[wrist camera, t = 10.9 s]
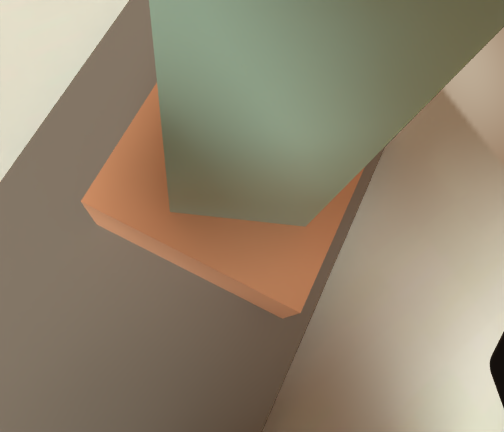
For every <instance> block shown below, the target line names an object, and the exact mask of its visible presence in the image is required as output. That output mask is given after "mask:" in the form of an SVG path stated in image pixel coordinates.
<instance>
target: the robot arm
mask: <svg viewBox="0 0 504 432" xmlns="http://www.w3.org/2000/svg"><path fill="white" fill-rule="evenodd" d="M490 370H491V374H492V377H493V380H494V382H495V385H496V388H497V391H498V394H499V396H500V399H501V402H502V405H503V408H504V332H503V334H502V336H501V338H500V340H499V342H498V344H497V346H496V348H495V350H494V352H493V354H492V356H491V359H490Z"/></svg>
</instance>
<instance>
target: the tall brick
mask: <svg viewBox="0 0 504 432" xmlns="http://www.w3.org/2000/svg"><path fill="white" fill-rule="evenodd" d="M149 7H150V17H151V27H152V37H153V47H154V57H155V67H156V77H157V87H158V97H159V107H160V117H161V127H162V137H163V147H164V158H165V168H166V178H167V188H168V198H169V208H170V212H176V213H185V214H194V215H203V216H213V217H222V218H231V219H240V220H249V221H259V222H268V223H277V224H286V225H295V226H305V227H306V226H307V225H308V224H309V223H310V222H311V221H312V220H313V219H314V218H315V217H316V216H317V215H318V214H319V213H320V212H321V210H322V209H323V208H324V207H325V206H326V205H327V204H328V203H329V202H330V201H331V200H332V199H333V198H334V197H335V196H336V195H337V194H338V193H339V192H340V191H341V190H342V189H343V188H344V187H345V186H346V185H347V184H348V183H349V182H350V181H351V180H352V179H353V178H354V177H355V176H356V175H357V174H358V173H359V172H360V171H361V170H362V169H363V168H364V167H365V166H366V165H367V164H368V163H369V162H370V161H371V160H372V159H373V158H374V157H375V156H376V155H377V154H378V153H379V152H380V151H381V150H382V149H383V148H384V147H385V146H386V145H387V144H388V143H389V142H390V141H391V140H392V139H393V138H394V137H395V136H396V135H397V134H398V133H399V132H400V131H401V130H402V129H403V128H404V127H405V126H406V125H407V124H408V123H409V122H410V121H411V120H412V119H413V118H414V117H415V116H416V115H417V114H418V113H419V112H420V111H421V110H422V109H423V108H424V107H425V106H426V105H427V104H428V103H429V102H430V101H431V100H432V99H433V98H434V97H435V96H436V95H437V94H438V93H439V92H440V91H441V90H442V89H443V88H444V87H445V85H447V84H448V83H449V81H450V80H451V79H452V78H453V77H454V76H455V75H456V74H457V73H458V72H459V71H460V70H461V69H462V68H463V67H464V66H465V65H466V64H467V63H468V62H469V61H470V60H471V59H472V58H473V57H474V56H475V55H476V54H477V53H478V52H479V51H480V50H481V49H482V48H483V47H484V46H485V45H486V44H487V43H488V42H489V41H490V40H491V39H492V38H493V37H494V36H495V35H496V34H497V33H498V32H499V31H500V30H501V29H502V28H503V27H504V0H149Z"/></svg>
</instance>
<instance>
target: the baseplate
mask: <svg viewBox="0 0 504 432" xmlns="http://www.w3.org/2000/svg"><path fill="white" fill-rule="evenodd" d="M384 148H385V147H384ZM384 148H383V149H382V150H381V151H380V152H379V153H378V154H377V155H376V156H375V157H374V158H373V159H372V160H371V161H370V162H369V163H368V164H367V165H366V166H365V167H364V168H363V169H362V170H361V171H360V172H359V173H358V174H357V175H356V176H355V177H354V178H353V179H352V180H351V181H350V182H349V183H348V184H347V185H346V186H345V187H344V188H343V189H342V190H341V191H340V192H339V193H338V194H337V195H336V196H335V197H334V198H333V199H332V200H331V201H330V202H329V203H328V204H327V205H326V206H325V207H324V208H323V209H322V210H321V212H320V213H319V214H318V215H317V216H316V217H315V218H314V219H313V220H312V221H311V222H310V223H309V224H308V225H307V226H306V227H305V226H295V225H286V224H277V223H268V222H259V221H249V220H240V219H231V218H222V217H213V216H203V215H194V214H185V213H176V212H170V208H169V198H168V188H167V178H166V168H165V158H164V147H163V137H162V127H161V117H160V107H159V97H158V87H157V77H156V67H155V57H154V47H153V37H152V27H151V17H150V7H149V0H129V2H128V3H127V4H126V6H125V7H124V9H123V10H122V11H121V13H120V14H119V16H118V17H117V19H116V20H115V21H114V23H113V24H112V26H111V27H110V28H109V30H108V31H107V33H106V34H105V35H104V37H103V38H102V40H101V41H100V42H99V44H98V45H97V47H96V48H95V50H94V51H93V52H92V54H91V55H90V57H89V58H88V59H87V61H86V62H85V64H84V65H83V66H82V68H81V69H80V71H79V72H78V73H77V75H76V76H75V78H74V79H73V81H72V82H71V83H70V85H69V86H68V88H67V89H66V90H65V92H64V93H63V95H62V96H61V97H60V99H59V100H58V102H57V103H56V104H55V106H54V107H53V109H52V110H51V112H50V113H49V114H48V116H47V117H46V119H45V120H44V121H43V123H42V124H41V126H40V127H39V128H38V130H37V131H36V133H35V134H34V135H33V137H32V138H31V140H30V141H29V143H28V144H27V145H26V147H25V148H24V150H23V151H22V152H21V154H20V155H19V157H18V158H17V159H16V161H15V162H14V164H13V165H12V166H11V168H10V169H9V171H8V172H7V174H6V175H5V176H4V178H3V179H2V181H1V182H0V432H262V430H263V428H264V426H265V423H266V421H267V419H268V416H269V414H270V412H271V409H272V407H273V405H274V402H275V400H276V398H277V395H278V393H279V391H280V388H281V386H282V384H283V382H284V379H285V377H286V375H287V372H288V370H289V368H290V365H291V363H292V361H293V358H294V356H295V354H296V351H297V349H298V347H299V344H300V342H301V340H302V337H303V335H304V333H305V331H306V328H307V326H308V324H309V321H310V319H311V317H312V314H313V312H314V310H315V307H316V305H317V303H318V300H319V298H320V296H321V293H322V291H323V289H324V287H325V284H326V282H327V280H328V277H329V275H330V273H331V270H332V268H333V266H334V263H335V261H336V259H337V256H338V254H339V252H340V249H341V247H342V245H343V243H344V240H345V238H346V236H347V233H348V231H349V229H350V226H351V224H352V222H353V219H354V217H355V215H356V212H357V210H358V208H359V205H360V203H361V201H362V198H363V196H364V194H365V192H366V189H367V187H368V185H369V182H370V180H371V178H372V175H373V173H374V171H375V168H376V166H377V164H378V161H379V159H380V157H381V154H382V152H383V150H384Z"/></svg>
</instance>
